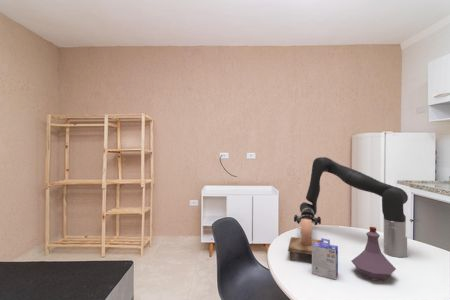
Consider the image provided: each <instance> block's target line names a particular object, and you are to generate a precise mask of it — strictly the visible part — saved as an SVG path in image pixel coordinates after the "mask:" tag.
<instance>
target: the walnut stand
mask: <svg viewBox="0 0 450 300" xmlns="http://www.w3.org/2000/svg"><path fill="white" fill-rule="evenodd" d="M315 242H316V243H321V239H320V240H319V239H313V238H312V245H313V244H314V243H315ZM322 242H324V241H322ZM312 245H311V246H304V245H302V244H301V237H295V236H294V237H293V236H291V237H290V240H289V245H288V248H287V251H288V252H289V253H288V254H289V256H288V257H289V261H292V262H294V261H295V253H299V254H306V255H312Z"/></svg>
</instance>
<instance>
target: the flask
mask: <svg viewBox="0 0 450 300" xmlns="http://www.w3.org/2000/svg"><path fill="white" fill-rule="evenodd" d="M365 235H366V236H367V241H366V245H365V247H364V250H362V251H361V253H359V254H358V255H357V256H355V257H354V258H353V259H352V260H351V263H352V264H353V265H354V266H355V268H356V269H357V270H358V272H359V273H360V274H361V275H362V276H363V277H364V278H366V279H370V280H372V281H384V280H386V279H387V278H388V277H389V276H391V275H392V274H393V273H394V272H396V270H397V268H396V267H395V266H394V265H393V264H392V263H391V262H390V260H388V259H387V258H386V257H385V255H384V254H383V253H382V250H381V247H380V244H379V238H380V234H379V233H378V232H377V227H374V226H369V231H367V232H366V233H365Z"/></svg>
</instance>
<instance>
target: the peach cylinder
mask: <svg viewBox="0 0 450 300" xmlns="http://www.w3.org/2000/svg"><path fill="white" fill-rule="evenodd" d="M312 225H313V223H312V220H311V219H301V222H300V235H301V236H300V238H301V244H302V245H304V246H311V245H312V239H313V237H312V236H313V235H312V234H313V233H312V232H313V231H312V230H313V227H312Z"/></svg>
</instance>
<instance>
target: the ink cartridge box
mask: <svg viewBox="0 0 450 300" xmlns="http://www.w3.org/2000/svg"><path fill="white" fill-rule="evenodd" d="M320 240H321V243H316V242H315V243H314V244H313V245H312V254H311V274H313V275H316V276H320V277H324V278H329V279H332V280H337V277H338V276H339V246H338V245H333V244H330V243H331V241H330V239H328V238H327V239H326V238H323V237H322V238H321V239H320ZM322 241H323V242H322ZM324 241H325V242H324Z"/></svg>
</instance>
